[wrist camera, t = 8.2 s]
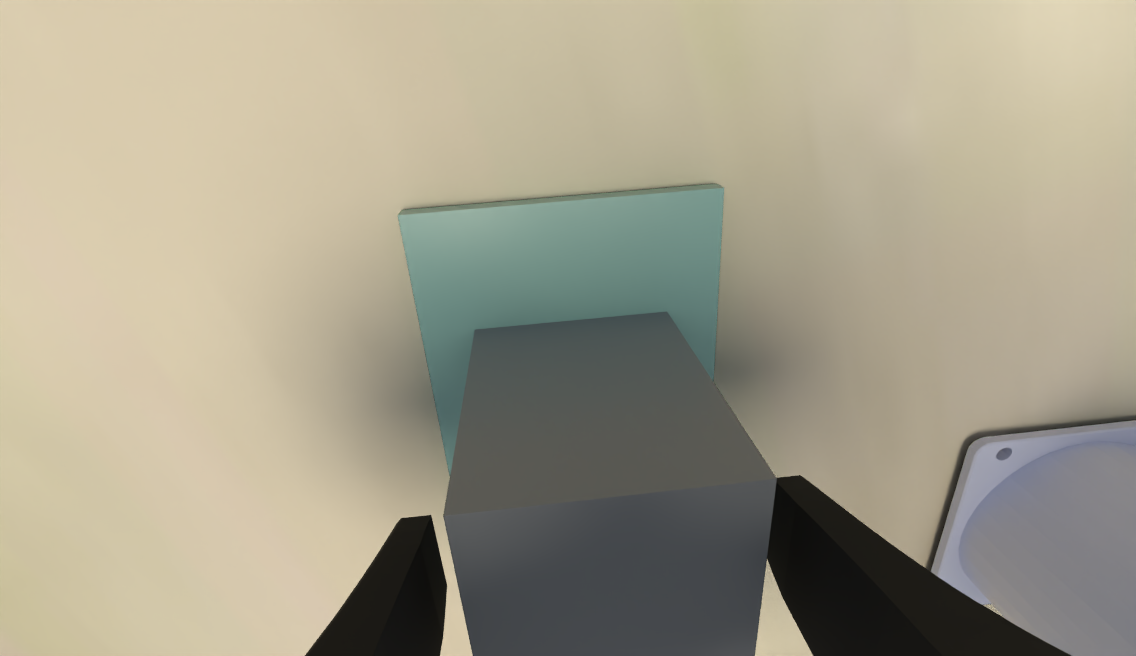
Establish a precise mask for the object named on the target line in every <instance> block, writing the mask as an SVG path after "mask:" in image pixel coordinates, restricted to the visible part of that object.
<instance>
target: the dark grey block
mask: <svg viewBox="0 0 1136 656" xmlns="http://www.w3.org/2000/svg"><path fill="white" fill-rule="evenodd" d="M776 481H777V478H776V477H775V475H774V474H773V472H772V471H771V469H770V468H769V466H768V465H767V463H766V462H765V460H764V459H763V457H762V456H761V454H760V452H759V451H758V449H757V448H756V446H755V445H754V443H753V442H752V440H751V439H750V437H749V436H748V434H747V433H746V431H745V430H744V428H743V426H742V425H741V423H740V422H739V420H738V419H737V417H736V416H735V414H734V413H733V411H732V410H731V408H730V407H729V405H728V404H727V402H726V401H725V399H724V397H723V396H722V394H721V393H720V391H719V390H718V388H717V387H716V385H715V384H714V382H713V381H712V379H711V378H710V376H709V375H708V373H707V372H706V370H705V368H704V367H703V365H702V364H701V362H700V361H699V359H698V358H697V356H696V355H695V353H694V352H693V350H692V349H691V347H690V346H689V344H688V343H687V341H686V339H685V338H684V336H683V335H682V333H681V332H680V330H679V329H678V327H677V326H676V324H675V323H674V321H673V320H672V318H671V317H670V315H669V314H668V312H657V313H646V314H635V315H625V316H614V317H603V318H593V319H582V320H571V321H561V322H550V323H539V324H529V325H518V326H507V327H497V328H486V329H475V331H474V337H473V343H472V349H471V355H470V361H469V367H468V373H467V378H466V384H465V390H464V396H463V402H462V408H461V414H460V420H459V426H458V432H457V438H456V444H455V450H454V456H453V462H452V468H451V474H450V480H449V486H448V492H447V498H446V503H445V509H444V515H443V516H444V521H445V526H446V531H447V535H448V540H449V545H450V550H451V554H452V559H453V564H454V569H455V573H456V578H457V583H458V587H459V592H460V597H461V602H462V606H463V611H464V616H465V621H466V625H467V630H468V635H469V640H470V644H471V649H472V654H473V656H755V649H756V641H757V633H758V625H759V617H760V609H761V601H762V593H763V585H764V577H765V569H766V561H767V553H768V545H769V537H770V529H771V521H772V513H773V505H774V497H775V489H776Z"/></svg>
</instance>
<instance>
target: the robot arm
mask: <svg viewBox="0 0 1136 656" xmlns="http://www.w3.org/2000/svg"><path fill="white" fill-rule="evenodd" d="M767 559H768V562H769V564H770V567H771V570H772V572H773V575H774V577H775V580H776V582H777V585H778V587H779V590H780V592H781V595H782V597H783V599H784V601H785V603H786V605H787V607H788V609H789V611H790V612H791V614H792V616H793V618H794V620H795V622H796V624H797V626H798V628H799V630H800V631H801V633H802V635H803V637H804V639H805V641H806V643H807V645H808V646H809V648H810V650H811V652H812V654H813V656H1136V420H1133V421H1124V422H1115V423H1106V424H1097V425H1088V426H1079V427H1070V428H1061V429H1052V430H1043V431H1034V432H1025V433H1016V434H1007V435H998V436H989V437H983V438H979V439H977V440H975V441H974V442H973V443H972V444H971V445H970V446H969V448H968V450H967V453H966V457H965V460H964V463H963V466H962V470H961V473H960V476H959V480H958V483H957V486H956V490H955V493H954V496H953V500H952V503H951V506H950V510H949V513H948V516H947V519H946V523H945V526H944V529H943V533H942V536H941V539H940V543H939V546H938V549H937V553H936V556H935V559H934V563H933V566H932V569H931V572H930V571H929V570H927V569H926V568H924V567H923V566H921V565H920V564H918V563H917V562H915V561H914V560H913V559H911V558H910V557H908V556H907V555H905V554H904V553H903V552H901V551H900V550H898V549H897V548H896V547H894V546H893V545H892V544H890V543H889V542H887V541H886V540H885V539H883V538H882V537H881V536H879V535H878V534H877V533H875V532H874V531H873V530H871V529H870V528H869V527H867V526H866V525H865V524H863V523H862V522H861V521H859V520H858V519H857V518H855V517H854V516H853V515H851V514H850V513H849V512H848V511H846V510H845V509H844V508H842V507H841V506H840V505H838V504H837V503H836V502H835V501H833V500H832V499H831V498H829V497H828V496H827V495H826V494H824V493H823V492H822V491H820V490H819V489H818V488H817V487H815V486H814V485H813V484H811V483H810V482H809V481H807V480H806V479H805V478H803V477H802V476H801V475H799V476H790V477H781V478H777V481H776V489H775V497H774V505H773V513H772V521H771V529H770V537H769V545H768V553H767ZM446 592H447V583H446V579H445V575H444V570H443V566H442V561H441V557H440V552H439V548H438V543H437V539H436V535H435V530H434V526H433V521H432V517H431V515H427V516H418V517H408V518H401V519H400V520H399V522H398V523H397V524H396V526H395V527H394V529H393V530H392V532H391V534H390V535H389V537H388V538H387V540H386V542H385V543H384V545H383V546H382V548H381V549H380V551H379V553H378V554H377V556H376V557H375V559H374V560H373V562H372V563H371V565H370V566H369V568H368V569H367V571H366V572H365V574H364V575H363V577H362V578H361V580H360V581H359V583H358V584H357V586H356V587H355V588H354V590H353V591H352V593H351V594H350V596H349V597H348V598H347V600H346V601H345V603H344V604H343V606H342V607H341V609H340V610H339V611H338V613H337V614H336V615H335V617H334V618H333V620H332V621H331V622H330V624H329V625H328V626H327V627H326V629H325V630H324V631H323V633H322V634H321V635H320V637H319V638H318V639H317V641H316V642H315V643H314V644H313V646H312V647H311V648H310V650H309V651H308V652H307V654H306V655H305V656H440V651H441V645H442V640H443V631H444V619H445V606H446ZM985 604H992V605H993V606H994V607H995V608H996V609H997V610H998V611H999V612H1000V613H1001V614H1002V616H1003V617H1004V618H1003V617H1001V616H1000V615H998V614H996V613H995V612H993V611H991V610H990V609H988V608H986V607H985V606H983V605H985Z"/></svg>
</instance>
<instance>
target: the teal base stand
mask: <svg viewBox="0 0 1136 656" xmlns="http://www.w3.org/2000/svg"><path fill="white" fill-rule="evenodd" d="M723 200H724V187H722V186H720V185H718V184H705V185H693V186H681V187H669V188H658V189H646V190H634V191H622V192H610V193H598V194H586V195H574V196H562V197H550V198H538V199H526V200H514V201H502V202H491V203H479V204H467V205H455V206H443V207H431V208H419V209H407V210H402V211H401V212H400V213H399V214H398V219H399V224H400V229H401V234H402V239H403V244H404V249H405V255H406V260H407V265H408V270H409V275H410V280H411V285H412V290H413V295H414V300H415V305H416V310H417V315H418V320H419V325H420V330H421V335H422V340H423V345H424V350H425V355H426V360H427V365H428V370H429V375H430V380H431V385H432V390H433V395H434V400H435V405H436V410H437V415H438V420H439V425H440V430H441V435H442V440H443V445H444V450H445V455H446V460H447V465H448V470H449V475H450V474H451V468H452V462H453V456H454V450H455V444H456V438H457V432H458V426H459V420H460V414H461V408H462V402H463V396H464V390H465V384H466V378H467V373H468V367H469V361H470V355H471V349H472V343H473V337H474V331H475V329H486V328H497V327H507V326H518V325H529V324H539V323H550V322H561V321H571V320H582V319H593V318H603V317H614V316H625V315H635V314H646V313H657V312H668V314H669V315H670V317H671V318H672V320H673V321H674V323H675V324H676V326H677V327H678V329H679V330H680V332H681V333H682V335H683V336H684V338H685V339H686V341H687V343H688V344H689V346H690V347H691V349H692V350H693V352H694V353H695V355H696V356H697V358H698V359H699V361H700V362H701V364H702V365H703V367H704V368H705V370H706V372H707V373H708V375H709V376H710V378H711V379H712V381H713V382H714V364H715V346H716V327H717V309H718V291H719V273H720V255H721V236H722V218H723Z"/></svg>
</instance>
